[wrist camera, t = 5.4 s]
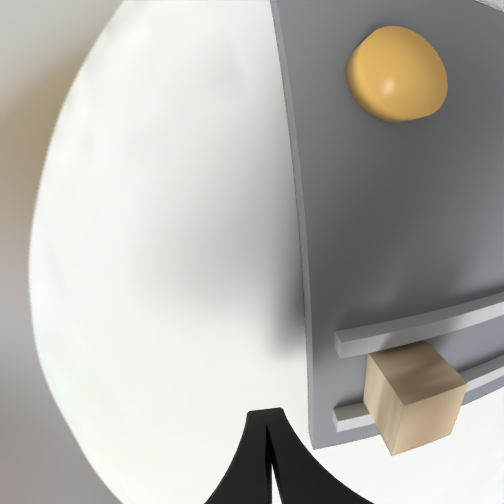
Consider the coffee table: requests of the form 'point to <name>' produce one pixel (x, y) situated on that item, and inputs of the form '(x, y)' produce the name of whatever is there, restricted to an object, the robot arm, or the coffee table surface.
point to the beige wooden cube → (412, 395)
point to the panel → (395, 202)
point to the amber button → (396, 75)
